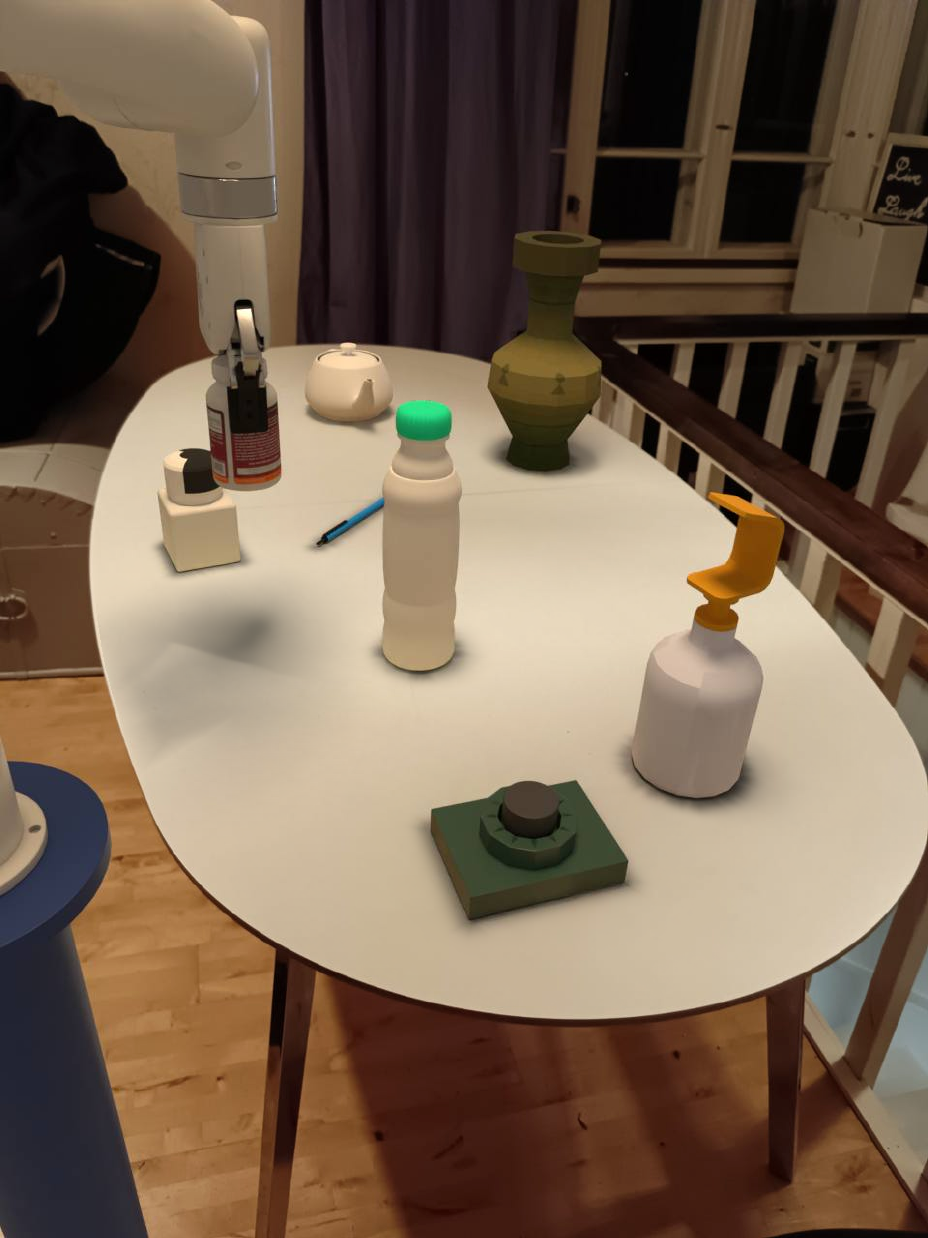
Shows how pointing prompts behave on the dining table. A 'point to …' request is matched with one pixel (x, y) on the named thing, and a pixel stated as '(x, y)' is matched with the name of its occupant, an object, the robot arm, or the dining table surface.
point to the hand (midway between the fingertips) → (243, 416)
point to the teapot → (348, 384)
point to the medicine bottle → (196, 513)
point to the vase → (547, 353)
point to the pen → (350, 522)
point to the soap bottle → (708, 672)
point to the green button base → (525, 853)
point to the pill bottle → (241, 438)
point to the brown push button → (530, 809)
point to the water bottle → (420, 540)
